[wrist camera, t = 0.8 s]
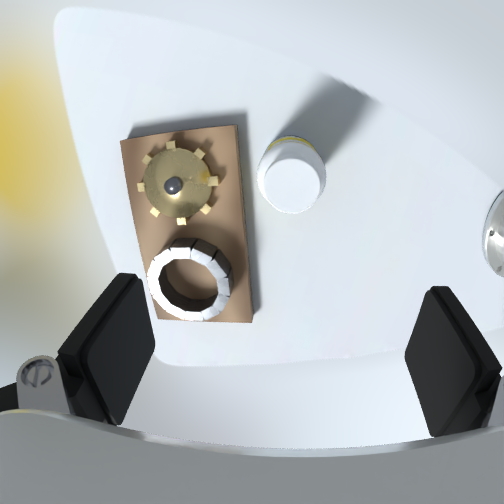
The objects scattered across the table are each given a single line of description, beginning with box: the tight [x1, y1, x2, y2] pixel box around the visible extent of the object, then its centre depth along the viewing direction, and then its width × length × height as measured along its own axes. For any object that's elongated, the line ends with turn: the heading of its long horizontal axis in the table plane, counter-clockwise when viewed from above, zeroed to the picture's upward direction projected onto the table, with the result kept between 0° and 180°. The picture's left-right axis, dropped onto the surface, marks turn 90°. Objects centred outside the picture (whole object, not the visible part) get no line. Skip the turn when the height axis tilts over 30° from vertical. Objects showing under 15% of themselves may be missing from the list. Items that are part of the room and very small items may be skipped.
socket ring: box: [147, 237, 234, 321], centre depth 34 cm, size 9×9×2 cm
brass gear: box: [137, 140, 221, 225], centre depth 30 cm, size 8×8×2 cm
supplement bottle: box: [257, 136, 326, 214], centre depth 26 cm, size 5×5×10 cm
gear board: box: [120, 125, 253, 323], centre depth 34 cm, size 12×22×2 cm, turn 5°
